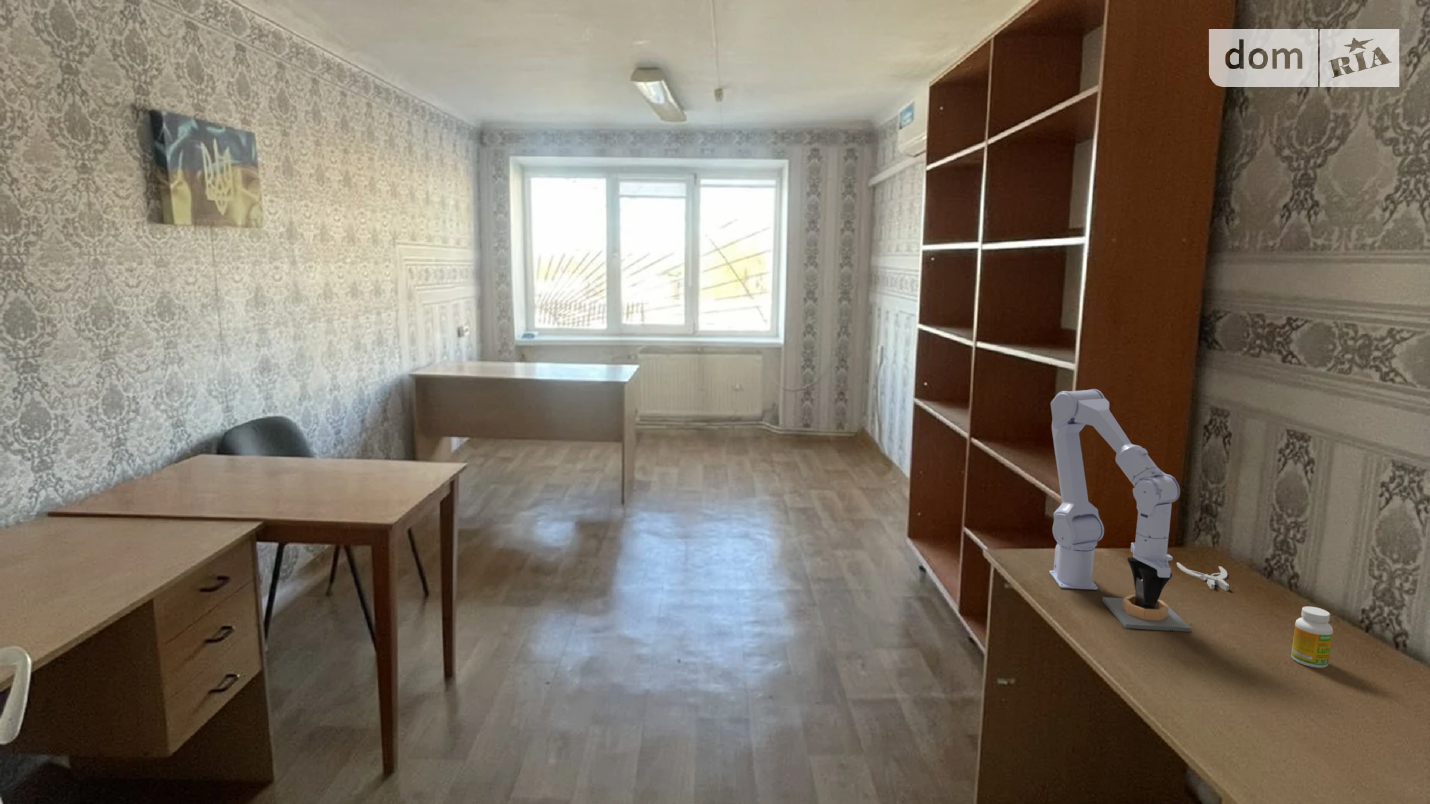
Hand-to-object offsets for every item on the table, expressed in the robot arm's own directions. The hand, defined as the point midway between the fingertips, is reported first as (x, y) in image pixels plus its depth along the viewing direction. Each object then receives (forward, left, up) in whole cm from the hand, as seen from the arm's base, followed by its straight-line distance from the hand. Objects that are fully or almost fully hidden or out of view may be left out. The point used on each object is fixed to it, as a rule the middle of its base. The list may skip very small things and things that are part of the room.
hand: (1146, 597), depth 158 cm
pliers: (-24, +23, -4) cm, 33 cm away
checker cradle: (0, 0, -4) cm, 4 cm away
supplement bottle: (+16, +22, -4) cm, 28 cm away
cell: (0, 0, -2) cm, 2 cm away
